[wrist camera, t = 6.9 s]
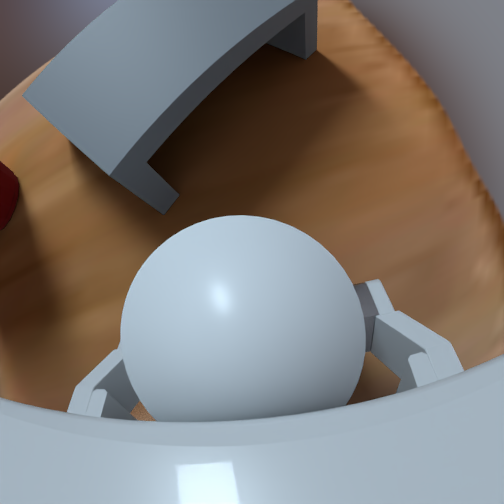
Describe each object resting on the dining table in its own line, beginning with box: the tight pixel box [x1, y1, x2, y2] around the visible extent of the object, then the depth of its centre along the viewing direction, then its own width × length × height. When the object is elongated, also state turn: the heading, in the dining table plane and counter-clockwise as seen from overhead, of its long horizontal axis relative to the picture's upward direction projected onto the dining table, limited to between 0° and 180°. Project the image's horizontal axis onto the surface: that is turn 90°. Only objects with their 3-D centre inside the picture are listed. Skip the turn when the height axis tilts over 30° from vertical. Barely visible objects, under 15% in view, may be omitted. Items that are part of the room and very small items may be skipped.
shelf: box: [22, 0, 317, 215], centre depth 16 cm, size 16×13×6 cm
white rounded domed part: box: [121, 215, 366, 422], centre depth 11 cm, size 6×6×9 cm
